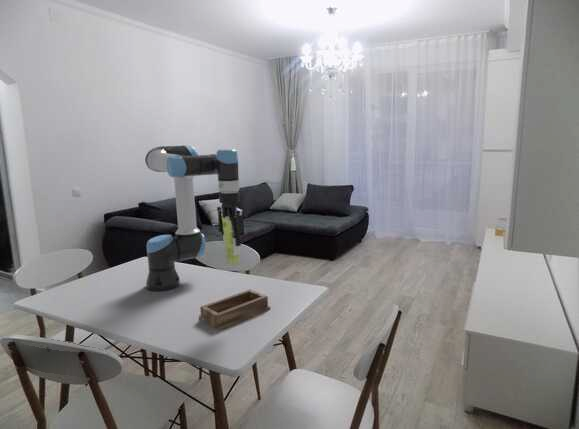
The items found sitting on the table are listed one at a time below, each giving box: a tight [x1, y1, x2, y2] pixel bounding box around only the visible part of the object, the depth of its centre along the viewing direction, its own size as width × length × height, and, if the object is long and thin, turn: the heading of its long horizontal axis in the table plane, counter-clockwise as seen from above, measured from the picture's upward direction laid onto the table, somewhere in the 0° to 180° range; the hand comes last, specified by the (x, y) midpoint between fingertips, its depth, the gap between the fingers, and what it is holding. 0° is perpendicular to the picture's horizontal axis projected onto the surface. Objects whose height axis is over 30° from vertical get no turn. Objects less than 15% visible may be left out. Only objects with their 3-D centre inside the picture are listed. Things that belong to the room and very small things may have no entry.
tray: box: [198, 289, 271, 331], centre depth 153 cm, size 14×24×5 cm, turn 134°
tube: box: [221, 213, 241, 266], centre depth 148 cm, size 6×5×20 cm
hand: (232, 252), depth 149 cm, fingers closed on tube, 6 cm apart
